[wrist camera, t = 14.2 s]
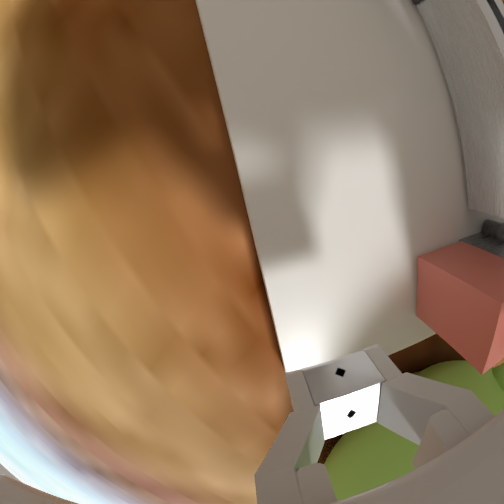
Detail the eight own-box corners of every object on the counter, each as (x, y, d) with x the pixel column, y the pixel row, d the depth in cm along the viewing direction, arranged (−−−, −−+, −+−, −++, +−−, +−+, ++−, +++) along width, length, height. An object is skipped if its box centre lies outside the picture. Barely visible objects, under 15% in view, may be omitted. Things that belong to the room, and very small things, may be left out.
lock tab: (493, 276, 11) (560, 314, 6) (415, 315, 11) (490, 383, 6) (497, 226, 10) (573, 255, 5) (417, 256, 10) (514, 311, 5)
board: (556, 239, 14) (566, 243, 12) (284, 369, 13) (289, 388, 12) (519, 25, 7) (529, 23, 6) (184, -41, 7) (181, -58, 6)
